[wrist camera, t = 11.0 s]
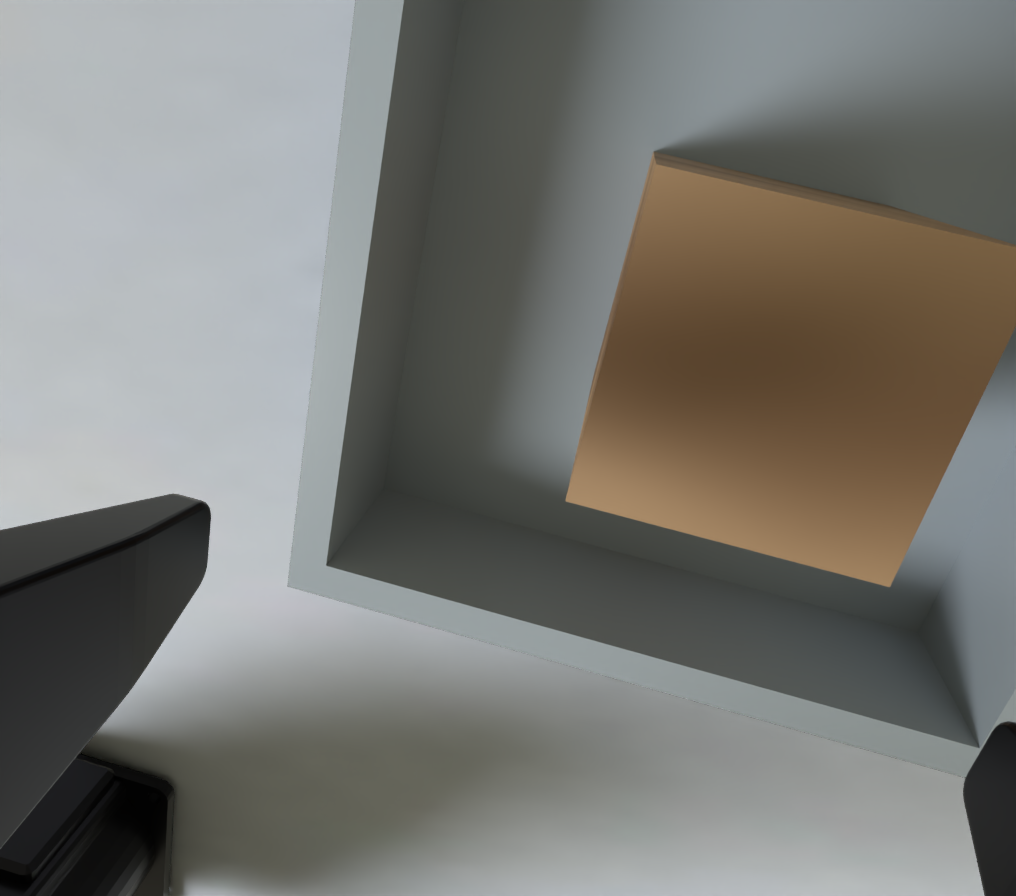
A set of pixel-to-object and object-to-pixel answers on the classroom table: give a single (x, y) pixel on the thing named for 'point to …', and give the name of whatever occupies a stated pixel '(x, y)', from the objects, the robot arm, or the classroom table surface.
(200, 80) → the classroom table surface
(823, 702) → the bin
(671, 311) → the tan wooden block
